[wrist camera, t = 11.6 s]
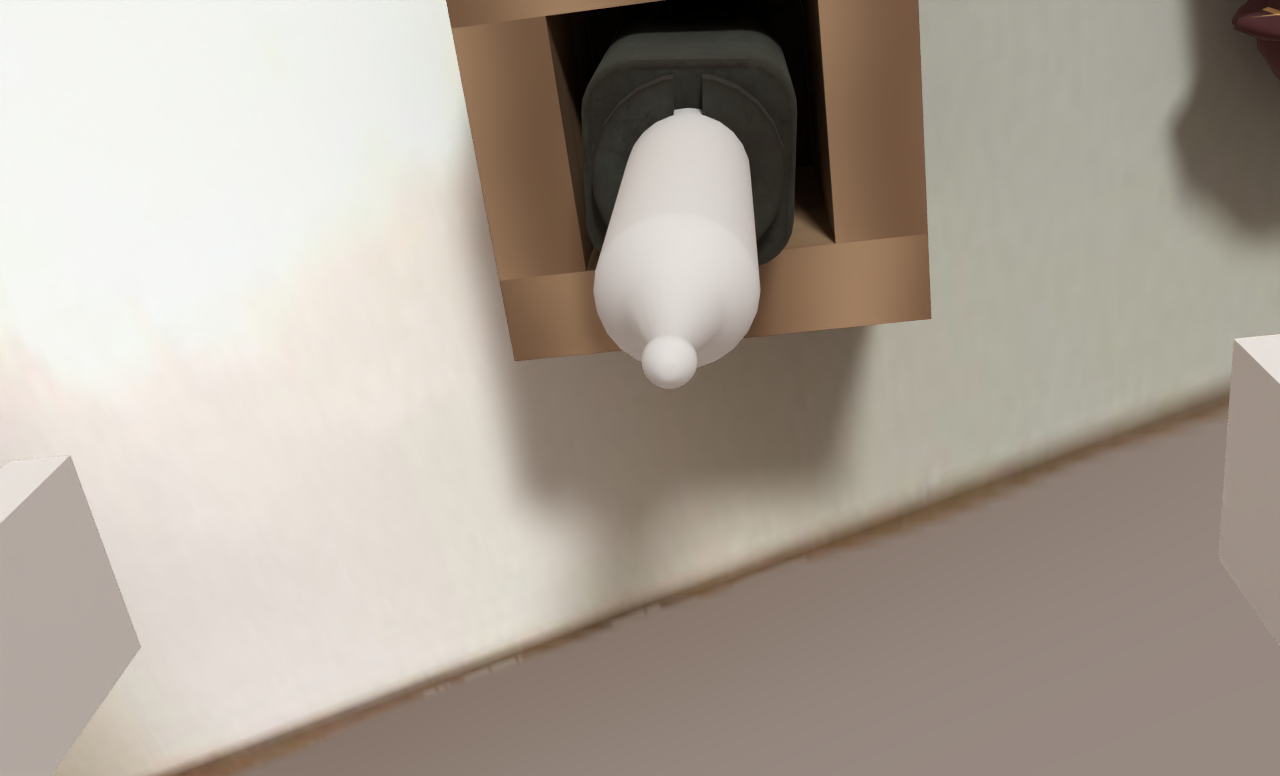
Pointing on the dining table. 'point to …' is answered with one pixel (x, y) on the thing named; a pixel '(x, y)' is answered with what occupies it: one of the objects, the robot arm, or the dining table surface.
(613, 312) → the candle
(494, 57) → the well block
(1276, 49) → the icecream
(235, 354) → the dining table surface
